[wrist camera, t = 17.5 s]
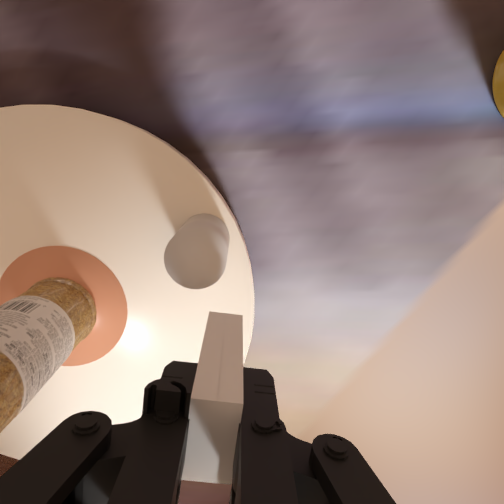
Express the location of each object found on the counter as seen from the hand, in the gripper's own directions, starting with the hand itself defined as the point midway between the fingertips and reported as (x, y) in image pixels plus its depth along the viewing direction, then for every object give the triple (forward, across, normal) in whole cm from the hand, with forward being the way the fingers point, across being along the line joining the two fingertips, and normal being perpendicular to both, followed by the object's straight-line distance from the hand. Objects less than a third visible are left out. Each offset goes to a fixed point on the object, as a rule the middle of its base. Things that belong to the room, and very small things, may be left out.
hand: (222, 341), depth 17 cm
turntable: (+10, +10, +2) cm, 14 cm away
